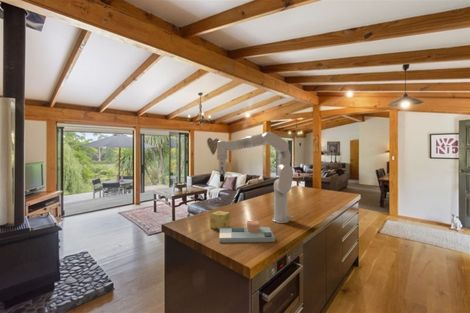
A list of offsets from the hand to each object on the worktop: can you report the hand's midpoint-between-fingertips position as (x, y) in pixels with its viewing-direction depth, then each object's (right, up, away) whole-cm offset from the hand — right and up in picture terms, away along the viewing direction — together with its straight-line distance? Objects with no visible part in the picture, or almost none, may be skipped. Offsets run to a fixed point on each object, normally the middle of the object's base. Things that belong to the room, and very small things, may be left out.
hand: (222, 180), depth 171 cm
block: (+21, -28, -24) cm, 43 cm away
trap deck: (+16, -31, -28) cm, 45 cm away
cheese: (-1, -31, -11) cm, 33 cm away
